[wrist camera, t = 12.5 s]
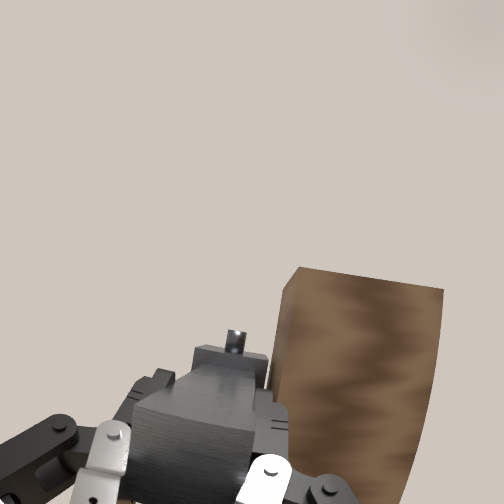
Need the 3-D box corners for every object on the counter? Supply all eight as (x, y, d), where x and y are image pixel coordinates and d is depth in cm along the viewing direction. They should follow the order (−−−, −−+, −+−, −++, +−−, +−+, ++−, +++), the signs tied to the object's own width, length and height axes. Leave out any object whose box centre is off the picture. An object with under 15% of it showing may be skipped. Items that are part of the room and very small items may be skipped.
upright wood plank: (309, 581, 19) (383, 303, 26) (322, 638, 9) (443, 289, 16) (169, 565, 20) (212, 277, 27) (146, 620, 10) (187, 248, 17)
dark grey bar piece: (256, 406, 24) (269, 336, 26) (260, 528, 7) (298, 345, 8) (197, 395, 25) (209, 325, 26) (104, 490, 7) (123, 312, 9)
